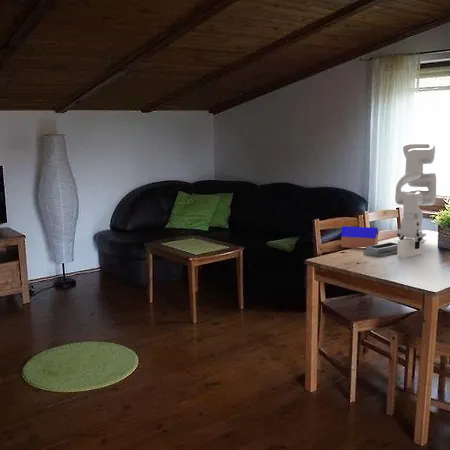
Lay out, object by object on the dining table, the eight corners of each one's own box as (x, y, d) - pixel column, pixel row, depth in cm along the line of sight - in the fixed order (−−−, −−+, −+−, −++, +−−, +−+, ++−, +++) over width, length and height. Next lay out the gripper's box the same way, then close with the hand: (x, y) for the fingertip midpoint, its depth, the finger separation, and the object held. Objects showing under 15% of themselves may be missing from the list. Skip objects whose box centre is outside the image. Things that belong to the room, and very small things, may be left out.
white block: (415, 252, 302) (415, 236, 301) (421, 254, 299) (421, 237, 297) (397, 256, 294) (397, 240, 293) (403, 258, 291) (403, 241, 289)
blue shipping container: (375, 249, 314) (375, 229, 312) (340, 247, 322) (340, 228, 320) (378, 245, 325) (378, 226, 323) (344, 243, 333) (344, 224, 331)
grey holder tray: (387, 248, 315) (387, 241, 314) (404, 251, 305) (404, 244, 304) (363, 253, 304) (363, 246, 303) (380, 257, 294) (380, 249, 293)
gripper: (428, 217, 288) (427, 248, 290) (401, 213, 302) (401, 244, 305) (419, 218, 284) (418, 250, 286) (392, 215, 298) (392, 245, 300)
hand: (409, 247), depth 295 cm, fingers open, 9 cm apart
